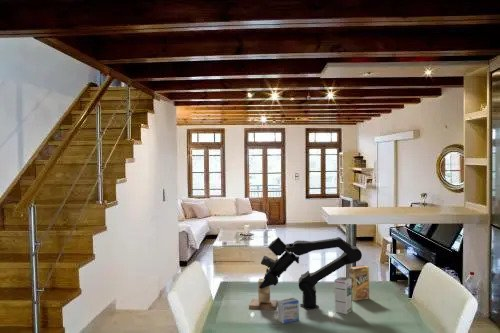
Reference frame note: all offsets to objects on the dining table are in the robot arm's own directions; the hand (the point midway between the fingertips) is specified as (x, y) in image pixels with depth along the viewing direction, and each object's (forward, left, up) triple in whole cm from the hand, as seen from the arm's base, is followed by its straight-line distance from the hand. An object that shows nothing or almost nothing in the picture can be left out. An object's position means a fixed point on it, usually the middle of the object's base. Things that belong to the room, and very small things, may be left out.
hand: (260, 286), depth 202 cm
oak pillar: (-1, -2, -7) cm, 7 cm away
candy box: (-14, -46, -9) cm, 49 cm away
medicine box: (-22, -2, -9) cm, 24 cm away
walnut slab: (-1, -1, -9) cm, 10 cm away
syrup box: (-24, -29, -9) cm, 39 cm away
